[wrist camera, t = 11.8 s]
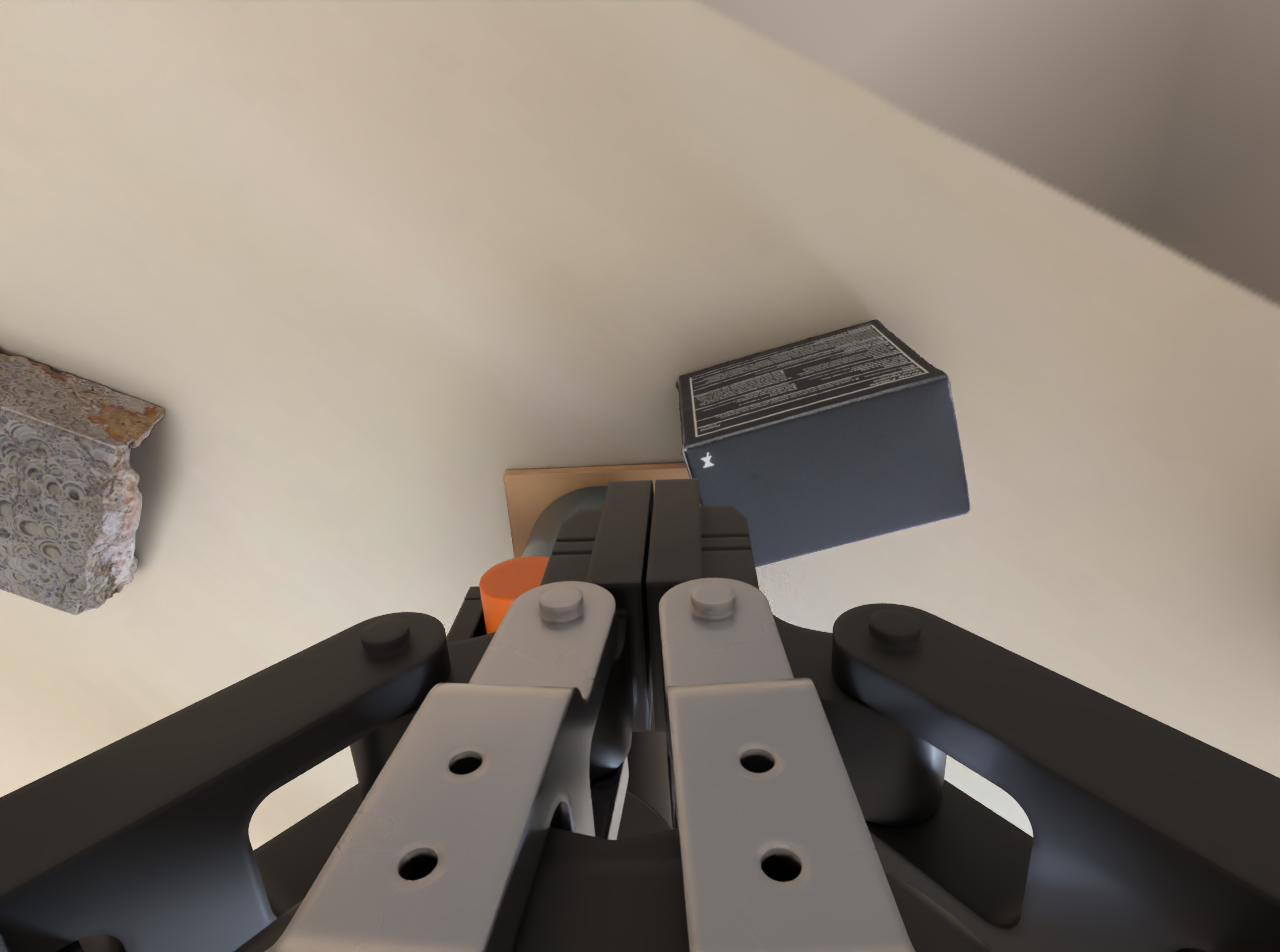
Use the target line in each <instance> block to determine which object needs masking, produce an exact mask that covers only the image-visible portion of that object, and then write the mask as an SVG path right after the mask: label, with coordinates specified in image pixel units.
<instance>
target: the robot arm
mask: <svg viewBox="0 0 1280 952" xmlns="http://www.w3.org/2000/svg"><path fill="white" fill-rule="evenodd" d="M652 695H653V705H654V722H655V732H666V745H667V765H668V782H669V795H670V809H671V822H672V829H671V830H667V831H662V832H657V833H652V834H648V835H643V836H638V837H633V838H629V839H623V840H617V835H618V830H619V825H620V820H621V815H622V810H623V804H624V799H625V794H626V789H627V784H628V777H629V770H628V758H627V755H628V753H629V751H630V747H631V740H632V732H650V727H651V711H652ZM349 745H350V748H351V752H352V757H353V761H354V765H355V769H356V773H357V777H358V782H359V783H358V784H357V785H355V786H354V787H352V788H351V789H349V790H347V791H346V792H344V793H343V794H341V795H340V796H338V797H336V798H335V799H333V800H332V801H330V802H329V803H327V804H326V805H324V806H322V807H321V808H319V809H318V810H316V811H315V812H313V813H312V814H310V815H308V816H307V817H305V818H304V819H302V820H301V821H299V822H298V823H296V824H294V825H293V826H291V827H290V828H288V829H287V830H285V831H284V832H282V833H280V834H279V835H277V836H276V837H274V838H273V839H271V840H270V841H268V842H266V843H265V844H263V845H262V846H260V847H259V848H257V849H255V850H254V851H253V849H252V846H251V843H250V840H249V835H248V828H249V823H250V820H251V817H252V815H253V813H254V812H255V810H256V808H257V807H258V806H259V804H260V803H261V802H262V801H263V800H264V799H265V798H266V797H267V796H268V795H269V794H270V793H272V792H273V791H275V790H276V789H278V788H279V787H281V786H283V785H284V784H286V783H288V782H289V781H291V780H293V779H294V778H296V777H298V776H299V775H301V774H303V773H304V772H306V771H308V770H309V769H311V768H313V767H314V766H316V765H318V764H319V763H321V762H323V761H324V760H326V759H328V758H329V757H331V756H333V755H334V754H336V753H338V752H339V751H341V750H343V749H344V748H346V747H348V746H349ZM946 755H949V756H950V757H952V758H953V759H955V760H957V761H958V762H960V763H961V764H963V765H965V766H966V767H968V768H970V769H971V770H973V771H974V772H976V773H978V774H979V775H981V776H982V777H984V778H986V779H987V780H989V781H990V782H992V783H994V784H995V785H997V786H998V787H1000V788H1002V789H1003V790H1004V791H1006V792H1007V793H1008V794H1010V795H1011V796H1012V797H1013V798H1014V799H1015V800H1016V801H1017V802H1018V803H1019V805H1020V806H1021V807H1022V809H1023V810H1024V811H1025V813H1026V815H1027V816H1028V819H1029V821H1030V823H1031V826H1032V829H1033V837H1031V836H1030V835H1028V834H1027V833H1025V832H1024V831H1022V830H1021V829H1019V828H1018V827H1016V826H1015V825H1013V824H1012V823H1010V822H1008V821H1007V820H1005V819H1004V818H1002V817H1001V816H999V815H998V814H996V813H995V812H993V811H992V810H990V809H989V808H987V807H985V806H984V805H982V804H981V803H979V802H978V801H976V800H975V799H973V798H972V797H970V796H969V795H967V794H966V793H964V792H963V791H961V790H959V789H958V788H956V787H955V786H953V785H952V784H950V783H949V782H947V781H946V780H944V774H945V764H946ZM0 952H1280V778H1278V777H1276V776H1274V775H1272V774H1270V773H1268V772H1265V771H1263V770H1261V769H1259V768H1257V767H1255V766H1253V765H1251V764H1248V763H1246V762H1244V761H1242V760H1240V759H1238V758H1236V757H1234V756H1232V755H1229V754H1227V753H1225V752H1223V751H1221V750H1219V749H1217V748H1215V747H1212V746H1210V745H1208V744H1206V743H1204V742H1202V741H1200V740H1198V739H1196V738H1193V737H1191V736H1189V735H1187V734H1185V733H1183V732H1181V731H1179V730H1176V729H1174V728H1172V727H1170V726H1168V725H1166V724H1164V723H1162V722H1159V721H1157V720H1155V719H1153V718H1151V717H1149V716H1147V715H1145V714H1143V713H1140V712H1138V711H1136V710H1134V709H1132V708H1130V707H1128V706H1126V705H1123V704H1121V703H1119V702H1117V701H1115V700H1113V699H1111V698H1109V697H1107V696H1104V695H1102V694H1100V693H1098V692H1096V691H1094V690H1092V689H1090V688H1087V687H1085V686H1083V685H1081V684H1079V683H1077V682H1075V681H1073V680H1071V679H1068V678H1066V677H1064V676H1062V675H1060V674H1058V673H1056V672H1054V671H1051V670H1049V669H1047V668H1045V667H1043V666H1041V665H1039V664H1037V663H1035V662H1032V661H1030V660H1028V659H1026V658H1024V657H1022V656H1020V655H1018V654H1015V653H1013V652H1011V651H1009V650H1007V649H1005V648H1003V647H1001V646H999V645H996V644H994V643H992V642H990V641H988V640H986V639H984V638H982V637H979V636H977V635H975V634H973V633H971V632H969V631H967V630H965V629H962V628H960V627H958V626H956V625H954V624H952V623H950V622H948V621H946V620H943V619H941V618H939V617H937V616H935V615H933V614H931V613H928V612H926V611H923V610H920V609H917V608H914V607H909V606H905V605H898V604H884V603H881V604H869V605H862V606H859V607H855V608H853V609H850V610H848V611H846V612H844V613H843V614H841V615H840V616H839V617H838V618H837V620H836V621H835V623H834V626H833V633H827V632H821V631H815V630H810V629H806V628H801V627H798V626H795V625H792V624H789V623H787V622H785V621H783V620H781V619H779V618H777V617H776V616H774V615H773V614H772V612H771V609H770V606H769V603H768V600H767V598H766V597H765V595H764V594H763V593H762V592H761V591H760V590H759V586H758V581H757V575H756V569H755V563H754V558H753V552H752V546H751V541H750V537H749V529H748V523H747V518H746V517H744V516H743V515H742V514H741V513H740V512H739V511H737V510H736V509H735V508H734V507H733V506H700V498H699V478H692V479H661V480H656V482H655V492H654V489H653V481H652V480H634V481H609V484H608V488H607V492H606V496H605V500H604V504H603V508H602V510H578V511H577V512H576V513H574V514H573V515H572V516H571V517H569V518H568V519H567V520H566V521H564V522H563V523H562V524H561V527H560V529H559V532H558V535H557V538H556V542H555V544H554V547H553V550H552V555H551V556H550V558H549V561H548V564H547V567H546V570H545V573H544V576H543V579H542V582H541V584H540V586H538V587H536V588H533V589H531V590H529V591H527V592H525V593H523V594H522V595H520V596H519V597H518V598H517V599H516V600H514V601H513V603H512V604H511V605H510V607H509V609H508V611H507V613H506V614H505V616H504V618H503V620H502V622H501V624H500V626H499V627H498V629H497V631H496V632H493V633H490V634H487V635H483V636H479V637H474V638H469V639H464V640H459V641H454V642H450V643H447V640H446V634H445V629H444V626H443V624H442V623H441V622H440V621H439V620H438V619H436V618H435V617H432V616H430V615H427V614H422V613H415V612H401V613H392V614H386V615H382V616H378V617H374V618H371V619H368V620H366V621H363V622H361V623H359V624H356V625H354V626H352V627H350V628H348V629H346V630H344V631H342V632H340V633H338V634H336V635H334V636H332V637H330V638H328V639H326V640H324V641H321V642H319V643H317V644H315V645H313V646H311V647H309V648H307V649H305V650H303V651H301V652H299V653H297V654H295V655H293V656H291V657H289V658H287V659H284V660H282V661H280V662H278V663H276V664H274V665H272V666H270V667H268V668H266V669H264V670H262V671H260V672H258V673H256V674H254V675H252V676H250V677H247V678H245V679H243V680H241V681H239V682H237V683H235V684H233V685H231V686H229V687H227V688H225V689H223V690H221V691H219V692H217V693H215V694H213V695H211V696H208V697H206V698H204V699H202V700H200V701H198V702H196V703H194V704H192V705H190V706H188V707H186V708H184V709H182V710H180V711H178V712H176V713H174V714H171V715H169V716H167V717H165V718H163V719H161V720H159V721H157V722H155V723H153V724H151V725H149V726H147V727H145V728H143V729H141V730H139V731H137V732H134V733H132V734H130V735H128V736H126V737H124V738H122V739H120V740H118V741H116V742H114V743H112V744H110V745H108V746H106V747H104V748H102V749H100V750H97V751H95V752H93V753H91V754H89V755H87V756H85V757H83V758H81V759H79V760H77V761H75V762H73V763H71V764H69V765H67V766H65V767H63V768H60V769H58V770H56V771H54V772H52V773H50V774H48V775H46V776H44V777H42V778H40V779H38V780H36V781H34V782H32V783H30V784H28V785H26V786H24V787H21V788H19V789H17V790H15V791H13V792H11V793H9V794H7V795H5V796H3V797H1V798H0Z"/></svg>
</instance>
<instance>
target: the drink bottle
mask: <svg viewBox="0 0 1280 952" xmlns="http://www.w3.org/2000/svg"><path fill="white" fill-rule="evenodd" d="M607 488H608V486H593V487H586V488H581V489H577V490H574V491H572V492H569V493H567V494H565V495H563V496H561V497H559V498H558V499H556V500H555V501H553V502H552V503H551V504H550V505H549V506H548V507H547V508H546V509H544V511H543V512H542V513H541V514H540V516H539V517H538V519H537V520H536V522H535V524H534V526H533V528H532V531H531V533H530V536H529V539H528V541H527V544H526V546H525V549H524V551H523V554H522V556H521V557H528V556H542V557H549V558H550V556H551V555H552V550H553V547H554V544H555V542H556V538H557V535H558V532H559V529H560V527H561V524H562V523H563V522H564V521H566V520H567V519H568V518H569V517H571V516H572V515H573V514H574V513H576V512H577V511H578V510H602V508H603V504H604V500H605V496H606V492H607ZM464 600H465V601H464V602H463V604H462V606H461V608H460V610H459V612H458V614H457V616H456V618H455V621H454V623H453V625H452V627H451V629H450V631H449V633H448V635H447V637H446V640H447V643H450V642H454V641H459V640H464V639H469V638H474V637H479V636H483V635H487V632H486V625H485V619H484V613H483V606H482V600H481V594H480V587H470V589H469V591H468V593H467V595H466V597H465V599H464ZM627 758H628V770H629V777H628V784H627V789H626V794H625V799H624V804H623V810H622V815H621V820H620V825H619V830H618V835H617V840H623V839H629V838H633V837H638V836H643V835H648V834H652V833H657V832H662V831H667V830H671V829H672V822H671V809H670V795H669V782H668V765H667V745H666V732H655V722H654V705H653V695H652V711H651V727H650V732H632V740H631V747H630V751H629V753H628V755H627Z"/></svg>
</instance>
